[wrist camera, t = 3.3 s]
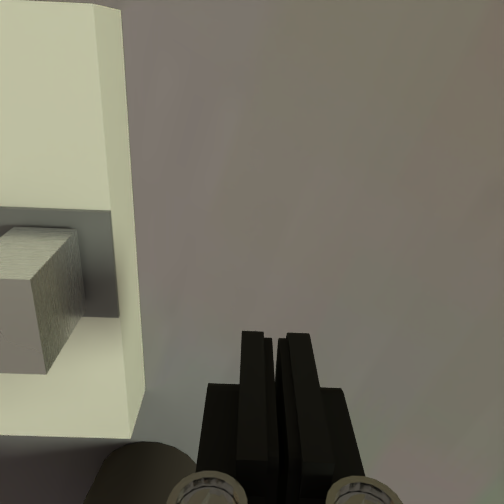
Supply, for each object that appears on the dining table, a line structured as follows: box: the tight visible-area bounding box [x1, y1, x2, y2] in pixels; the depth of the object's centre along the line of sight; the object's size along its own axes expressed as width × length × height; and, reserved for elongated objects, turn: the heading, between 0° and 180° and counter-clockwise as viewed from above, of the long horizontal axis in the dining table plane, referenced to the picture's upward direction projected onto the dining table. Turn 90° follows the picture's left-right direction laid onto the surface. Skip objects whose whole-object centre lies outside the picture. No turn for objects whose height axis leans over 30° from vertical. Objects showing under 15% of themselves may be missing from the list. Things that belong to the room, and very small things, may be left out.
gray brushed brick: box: [0, 227, 86, 375], centre depth 14 cm, size 3×2×4 cm, turn 178°
